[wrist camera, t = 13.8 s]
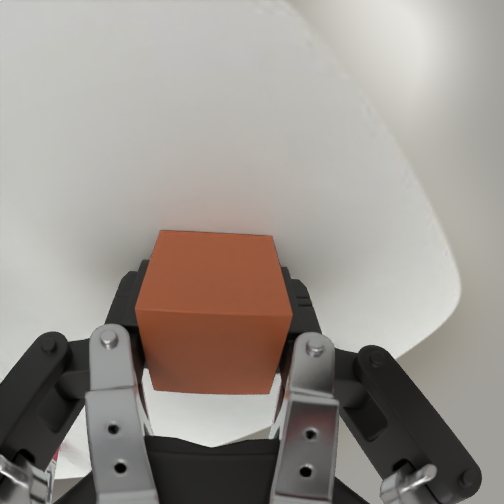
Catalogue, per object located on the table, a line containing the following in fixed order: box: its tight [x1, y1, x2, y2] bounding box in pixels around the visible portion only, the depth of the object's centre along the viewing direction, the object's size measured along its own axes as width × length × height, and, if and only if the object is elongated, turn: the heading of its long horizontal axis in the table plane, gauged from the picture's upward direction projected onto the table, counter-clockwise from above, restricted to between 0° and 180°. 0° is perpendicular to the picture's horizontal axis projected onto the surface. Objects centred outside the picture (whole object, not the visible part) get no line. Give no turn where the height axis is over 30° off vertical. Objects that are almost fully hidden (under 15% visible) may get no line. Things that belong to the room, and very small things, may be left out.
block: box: [135, 230, 293, 395], centre depth 10 cm, size 4×4×4 cm
